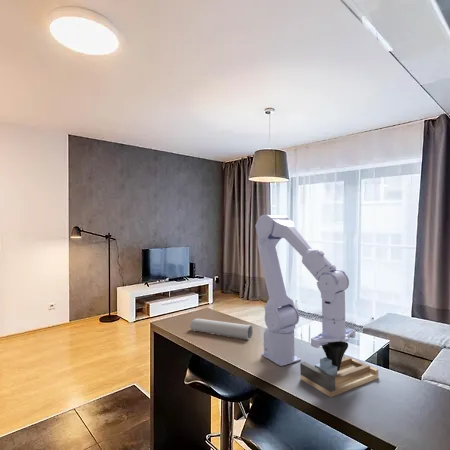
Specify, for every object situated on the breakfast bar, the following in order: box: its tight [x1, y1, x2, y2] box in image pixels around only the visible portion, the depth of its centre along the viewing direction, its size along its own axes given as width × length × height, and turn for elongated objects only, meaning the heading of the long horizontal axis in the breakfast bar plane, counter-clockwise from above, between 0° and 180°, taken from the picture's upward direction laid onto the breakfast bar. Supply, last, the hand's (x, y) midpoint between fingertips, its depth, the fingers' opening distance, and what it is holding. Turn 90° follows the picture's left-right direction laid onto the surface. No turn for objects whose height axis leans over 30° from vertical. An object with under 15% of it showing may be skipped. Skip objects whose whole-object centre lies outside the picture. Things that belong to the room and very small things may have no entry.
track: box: [299, 355, 379, 398], centre depth 80 cm, size 10×18×4 cm, turn 119°
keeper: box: [314, 357, 337, 376], centre depth 77 cm, size 4×4×5 cm
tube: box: [189, 318, 254, 341], centre depth 114 cm, size 5×5×25 cm
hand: (334, 369), depth 79 cm, fingers closed
